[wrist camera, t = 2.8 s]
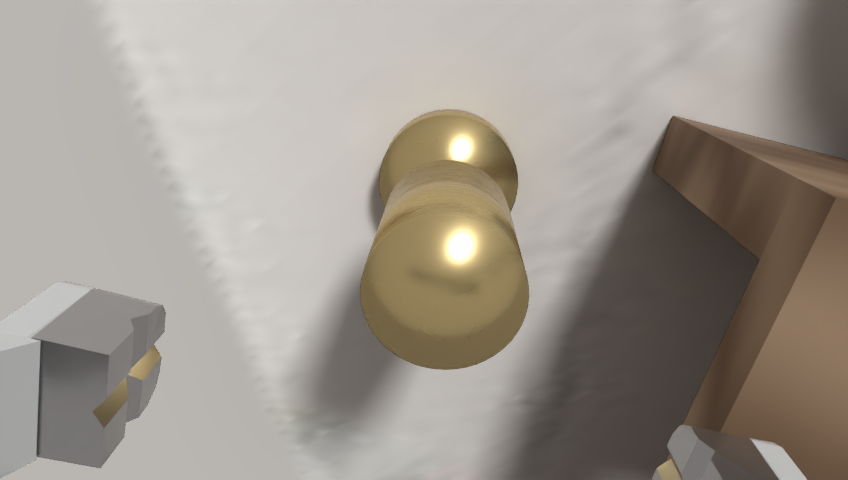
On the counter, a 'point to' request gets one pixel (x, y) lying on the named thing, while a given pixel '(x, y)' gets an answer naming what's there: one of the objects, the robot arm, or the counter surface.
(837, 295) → the keyhole shelf
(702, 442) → the robot arm
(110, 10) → the counter surface
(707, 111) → the counter surface
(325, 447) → the counter surface
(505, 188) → the brass peg
